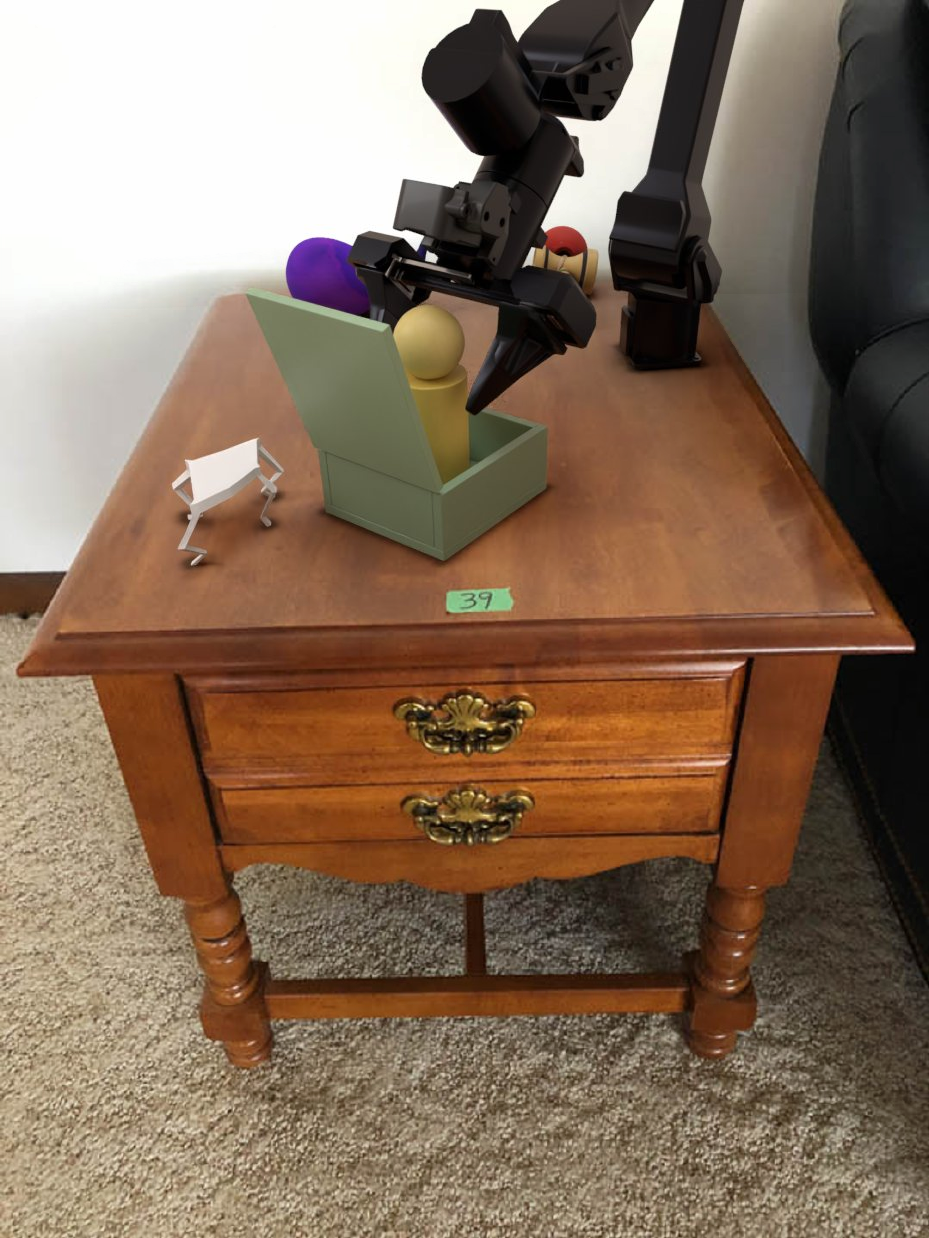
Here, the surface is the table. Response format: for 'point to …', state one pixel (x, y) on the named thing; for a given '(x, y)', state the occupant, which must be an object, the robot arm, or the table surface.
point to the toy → (328, 275)
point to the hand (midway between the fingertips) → (418, 396)
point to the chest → (445, 488)
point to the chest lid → (348, 386)
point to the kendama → (568, 256)
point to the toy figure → (437, 383)
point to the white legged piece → (223, 482)
